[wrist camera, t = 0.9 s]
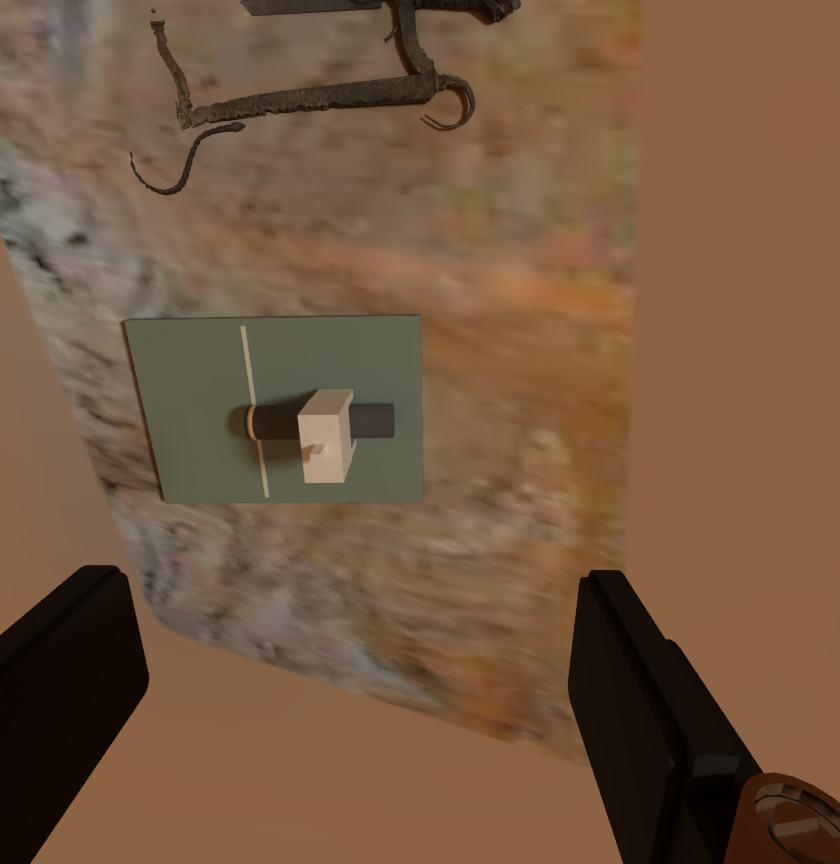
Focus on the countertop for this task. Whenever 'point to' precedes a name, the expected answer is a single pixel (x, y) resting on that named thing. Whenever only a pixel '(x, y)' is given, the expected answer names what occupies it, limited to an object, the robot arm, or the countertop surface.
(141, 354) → the cutting mat
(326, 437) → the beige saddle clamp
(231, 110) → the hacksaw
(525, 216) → the countertop surface
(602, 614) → the robot arm
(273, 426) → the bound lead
